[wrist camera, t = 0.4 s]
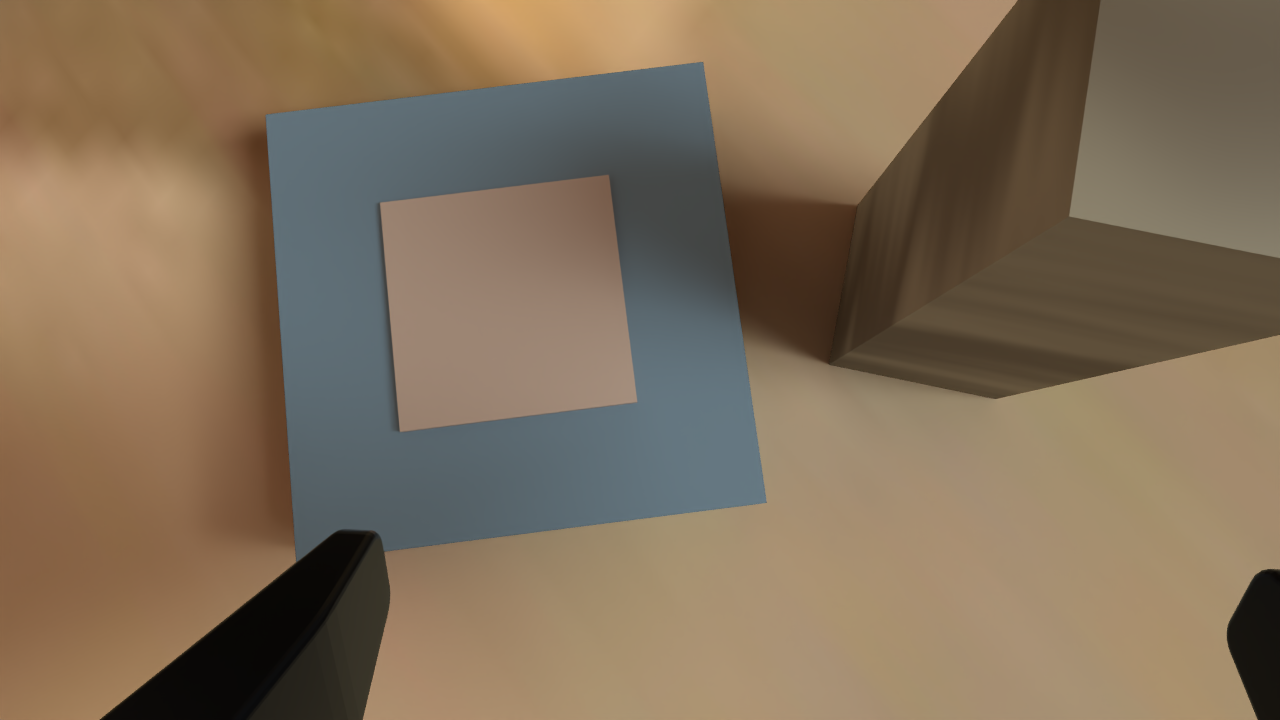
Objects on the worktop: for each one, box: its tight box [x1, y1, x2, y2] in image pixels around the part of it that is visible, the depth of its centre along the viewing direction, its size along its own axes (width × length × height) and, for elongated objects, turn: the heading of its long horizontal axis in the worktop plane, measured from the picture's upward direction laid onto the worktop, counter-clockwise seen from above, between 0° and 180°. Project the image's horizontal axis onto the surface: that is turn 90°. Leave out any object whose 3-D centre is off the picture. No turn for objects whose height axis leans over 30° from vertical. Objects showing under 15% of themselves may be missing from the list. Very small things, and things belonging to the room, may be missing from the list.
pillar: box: [829, 0, 1280, 399], centre depth 17 cm, size 4×4×13 cm
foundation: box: [266, 62, 767, 562], centre depth 22 cm, size 11×11×3 cm
